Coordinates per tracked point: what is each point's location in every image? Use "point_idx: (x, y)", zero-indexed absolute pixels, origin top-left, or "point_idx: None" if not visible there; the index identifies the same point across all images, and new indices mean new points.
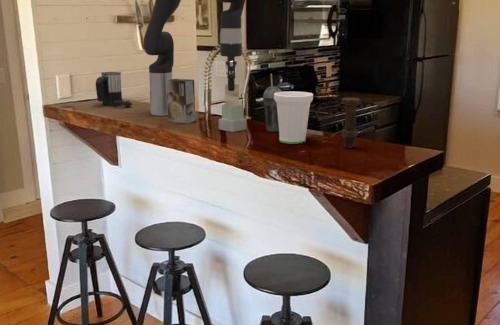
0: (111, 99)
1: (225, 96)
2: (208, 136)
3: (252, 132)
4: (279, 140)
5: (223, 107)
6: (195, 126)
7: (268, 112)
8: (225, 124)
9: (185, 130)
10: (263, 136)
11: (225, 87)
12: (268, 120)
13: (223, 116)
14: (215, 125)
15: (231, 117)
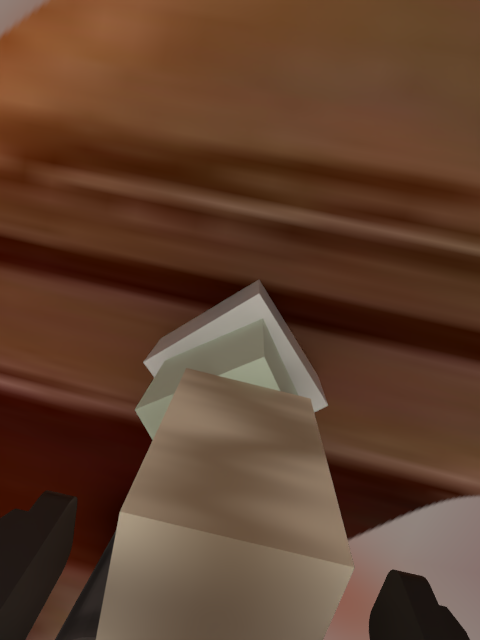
0: None
1: (163, 418)
2: (55, 169)
3: (124, 429)
4: None
5: (242, 357)
6: (398, 141)
7: (84, 594)
8: (204, 319)
9: (278, 38)
10: (22, 449)
11: (128, 498)
12: (109, 549)
13: (246, 331)
14: (381, 285)
15: (159, 369)
